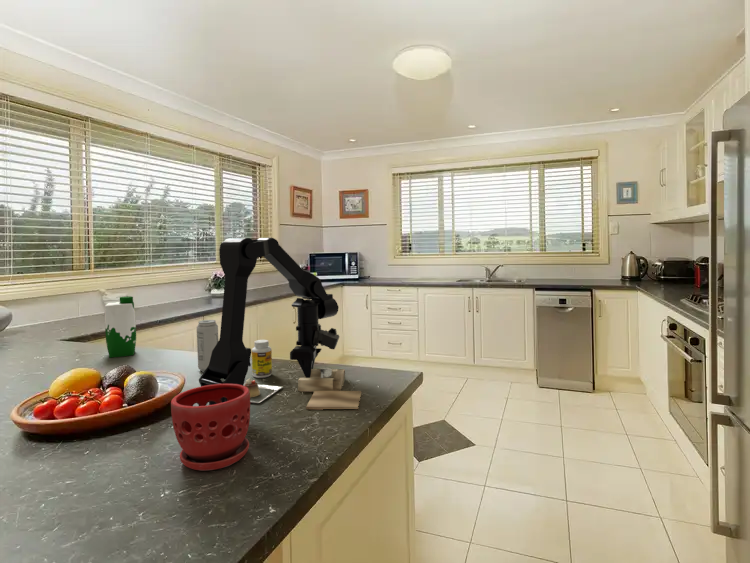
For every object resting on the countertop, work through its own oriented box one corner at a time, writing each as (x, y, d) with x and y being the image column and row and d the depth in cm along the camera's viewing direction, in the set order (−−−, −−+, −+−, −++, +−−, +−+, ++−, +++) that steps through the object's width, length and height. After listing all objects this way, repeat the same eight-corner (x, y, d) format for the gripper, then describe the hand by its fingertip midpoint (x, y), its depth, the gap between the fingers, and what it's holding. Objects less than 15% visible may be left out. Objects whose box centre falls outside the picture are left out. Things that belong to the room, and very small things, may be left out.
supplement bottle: (255, 379, 121) (255, 344, 120) (249, 374, 126) (248, 340, 125) (274, 376, 124) (274, 341, 124) (268, 371, 129) (267, 338, 128)
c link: (344, 379, 121) (344, 369, 121) (340, 391, 111) (340, 380, 111) (306, 379, 122) (306, 368, 121) (298, 391, 112) (298, 380, 111)
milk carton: (136, 355, 148) (133, 298, 146) (105, 358, 144) (101, 299, 142) (138, 350, 156) (135, 295, 154) (108, 352, 152) (105, 296, 150)
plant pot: (259, 440, 84) (257, 380, 83) (240, 476, 71) (238, 406, 70) (191, 441, 84) (188, 381, 82) (160, 478, 70) (156, 407, 69)
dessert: (283, 390, 114) (283, 372, 114) (259, 407, 102) (259, 387, 102) (243, 386, 117) (243, 369, 117) (216, 402, 106) (215, 383, 105)
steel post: (330, 387, 115) (330, 370, 114) (319, 387, 115) (319, 370, 115) (332, 383, 118) (332, 367, 117) (321, 383, 118) (321, 367, 118)
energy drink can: (219, 371, 129) (218, 322, 128) (198, 373, 127) (196, 323, 126) (219, 366, 135) (217, 318, 134) (198, 368, 133) (196, 320, 131)
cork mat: (357, 409, 99) (357, 407, 99) (306, 409, 100) (306, 406, 100) (361, 393, 110) (361, 391, 110) (314, 392, 110) (314, 390, 110)
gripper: (332, 328, 109) (332, 388, 111) (341, 316, 128) (341, 367, 129) (288, 328, 110) (290, 387, 111) (304, 316, 129) (304, 367, 130)
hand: (308, 376), depth 120 cm, fingers closed on c link, 2 cm apart
